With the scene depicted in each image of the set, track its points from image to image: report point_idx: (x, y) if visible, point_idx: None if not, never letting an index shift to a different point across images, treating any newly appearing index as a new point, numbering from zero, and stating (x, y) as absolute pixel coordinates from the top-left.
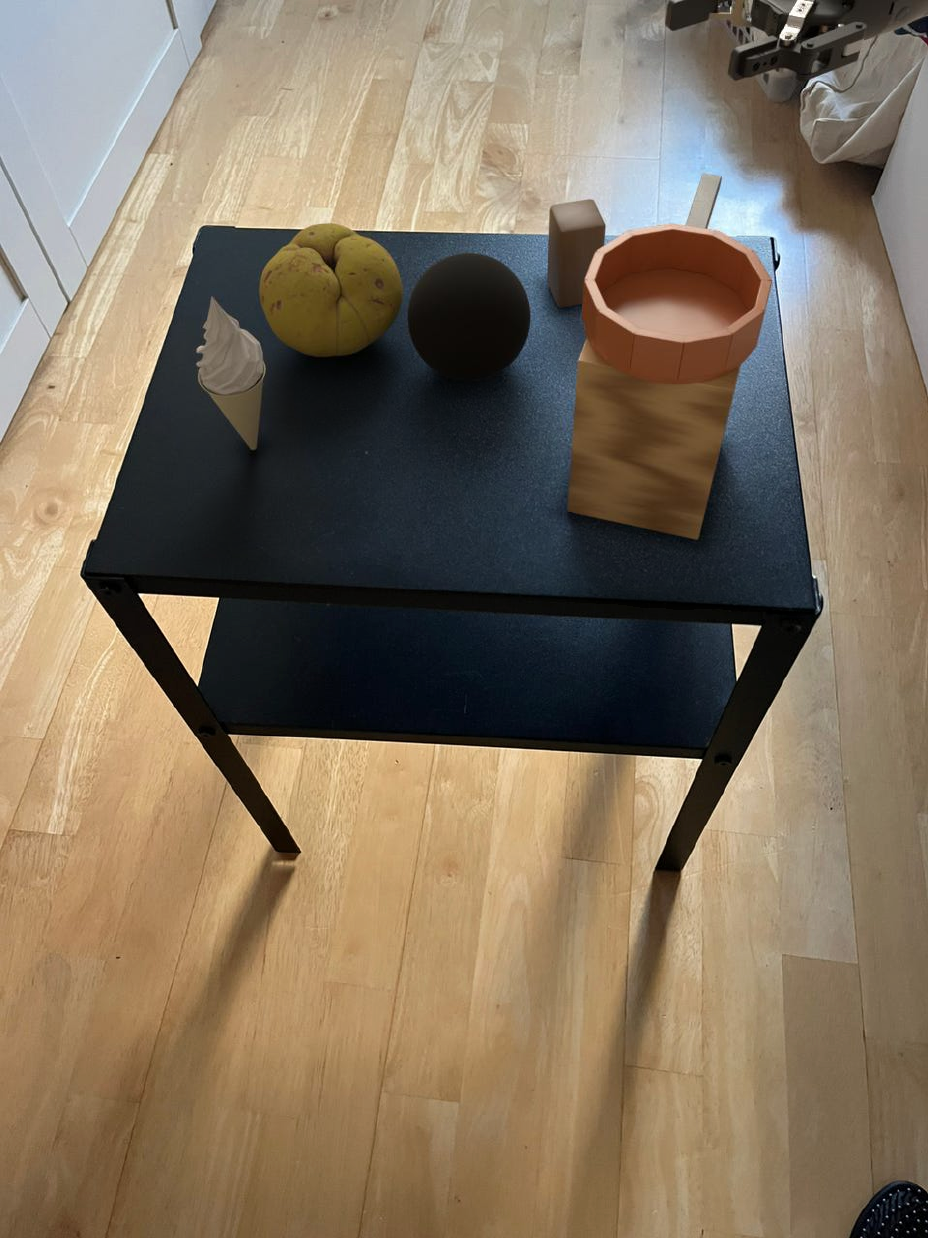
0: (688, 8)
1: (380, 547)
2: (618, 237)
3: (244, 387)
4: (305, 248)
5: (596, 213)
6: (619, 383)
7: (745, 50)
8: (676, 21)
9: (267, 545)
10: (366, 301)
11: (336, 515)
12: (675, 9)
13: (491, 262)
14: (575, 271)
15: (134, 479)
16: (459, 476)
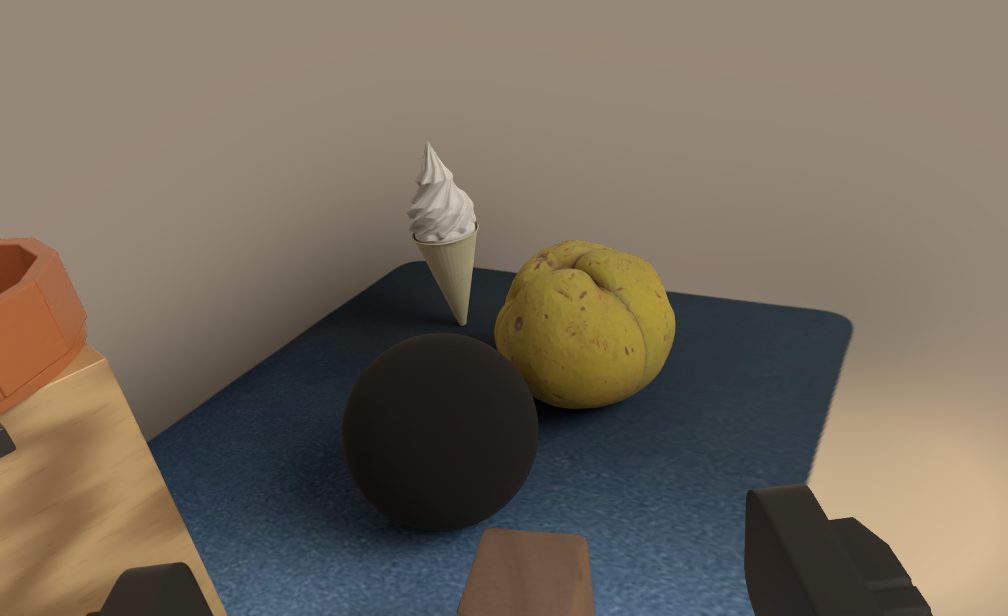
0: (788, 613)
1: (271, 382)
2: (40, 271)
3: (415, 233)
4: (577, 246)
5: (503, 606)
6: None
7: (107, 597)
8: (759, 588)
9: (344, 325)
10: (505, 321)
11: (335, 362)
12: (752, 521)
13: (423, 382)
14: None
15: (480, 270)
16: (291, 449)
